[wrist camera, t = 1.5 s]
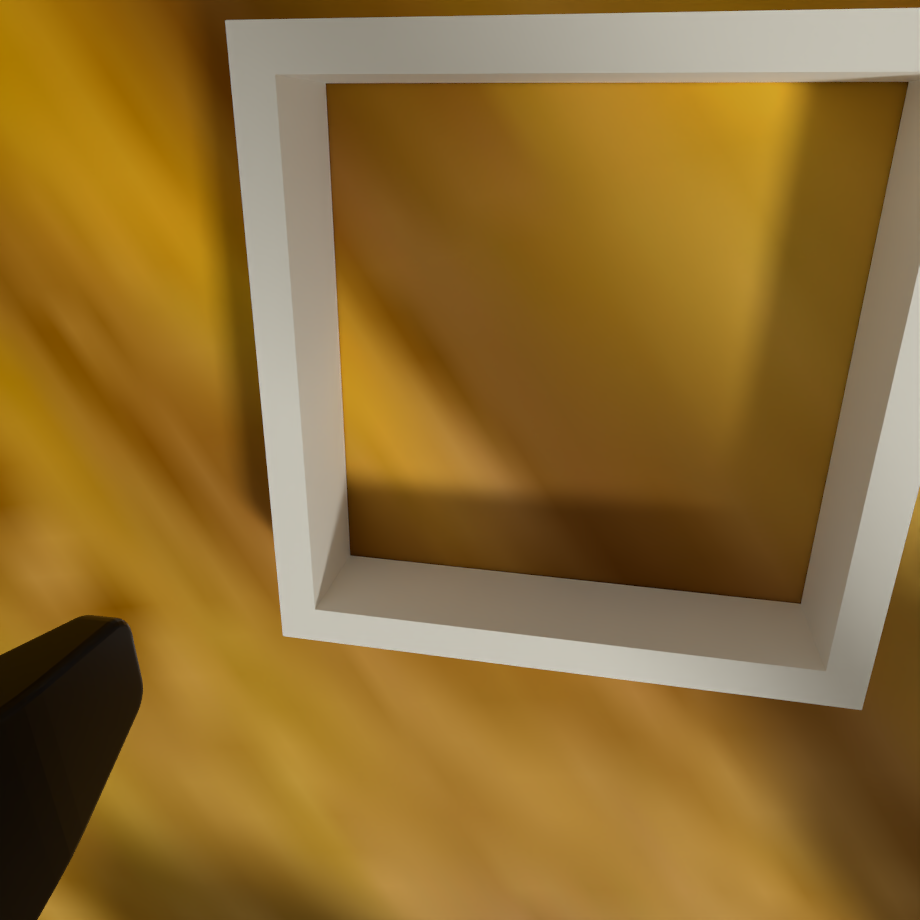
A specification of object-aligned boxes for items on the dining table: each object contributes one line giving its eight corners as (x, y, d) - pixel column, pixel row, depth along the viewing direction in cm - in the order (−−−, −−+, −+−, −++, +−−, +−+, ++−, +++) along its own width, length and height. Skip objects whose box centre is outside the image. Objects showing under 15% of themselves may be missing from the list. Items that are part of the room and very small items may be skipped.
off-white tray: (832, 638, 22) (861, 710, 19) (321, 580, 24) (283, 635, 22) (972, 27, 16) (1043, 5, 13) (283, 36, 19) (224, 19, 16)
